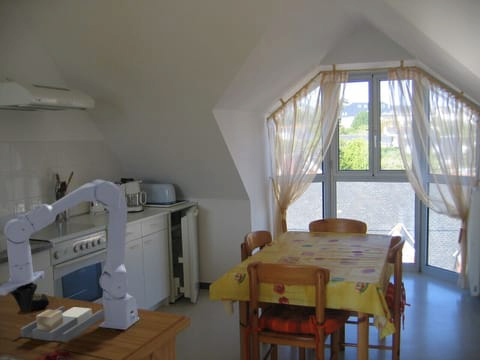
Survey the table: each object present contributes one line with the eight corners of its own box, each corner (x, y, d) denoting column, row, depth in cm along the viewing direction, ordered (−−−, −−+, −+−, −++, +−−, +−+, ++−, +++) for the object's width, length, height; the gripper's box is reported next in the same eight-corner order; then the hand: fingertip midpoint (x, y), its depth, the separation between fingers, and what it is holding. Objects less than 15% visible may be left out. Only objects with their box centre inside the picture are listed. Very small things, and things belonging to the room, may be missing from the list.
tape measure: (49, 308, 161) (48, 297, 160) (27, 313, 158) (26, 302, 157) (47, 302, 167) (46, 292, 166) (26, 306, 164) (25, 296, 163)
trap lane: (104, 317, 150) (103, 309, 150) (65, 342, 133) (64, 334, 133) (62, 313, 155) (62, 305, 155) (20, 337, 138) (19, 328, 138)
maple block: (63, 323, 140) (62, 310, 140) (51, 330, 135) (50, 317, 135) (49, 322, 142) (48, 309, 141) (37, 329, 137) (36, 315, 137)
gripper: (28, 255, 136) (33, 300, 138) (-13, 270, 123) (-8, 320, 124) (48, 256, 134) (53, 302, 136) (8, 272, 120) (13, 323, 122)
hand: (25, 311), depth 130 cm, fingers closed
